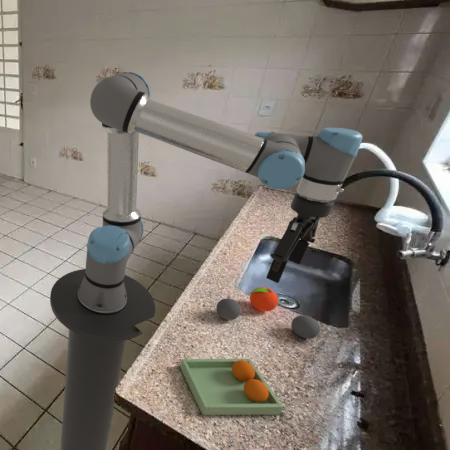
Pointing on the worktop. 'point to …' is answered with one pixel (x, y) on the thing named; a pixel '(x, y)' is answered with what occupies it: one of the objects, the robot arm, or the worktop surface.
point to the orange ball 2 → (256, 390)
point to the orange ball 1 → (243, 370)
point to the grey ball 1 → (228, 309)
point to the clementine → (263, 299)
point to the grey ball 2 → (305, 326)
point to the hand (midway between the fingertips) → (283, 270)
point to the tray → (225, 389)
